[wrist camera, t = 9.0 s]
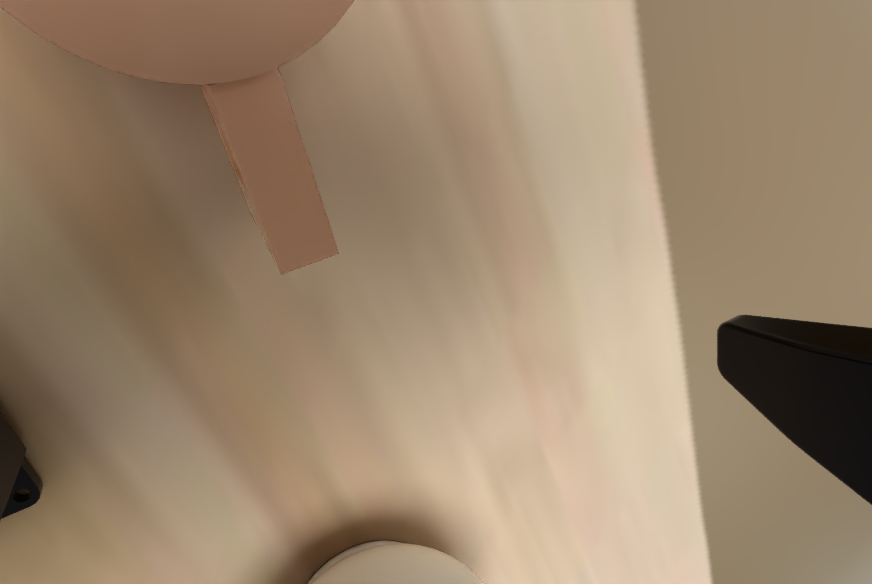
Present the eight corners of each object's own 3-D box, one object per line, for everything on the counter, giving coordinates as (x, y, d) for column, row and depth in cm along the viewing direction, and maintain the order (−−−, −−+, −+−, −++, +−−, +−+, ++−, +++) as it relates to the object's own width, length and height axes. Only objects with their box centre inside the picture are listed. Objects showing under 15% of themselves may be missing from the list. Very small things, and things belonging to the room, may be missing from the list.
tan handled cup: (156, 218, 18) (143, 342, 10) (-35, -186, 13) (-328, -529, 5) (351, 156, 19) (470, 220, 12) (241, -222, 15) (313, -525, 7)
